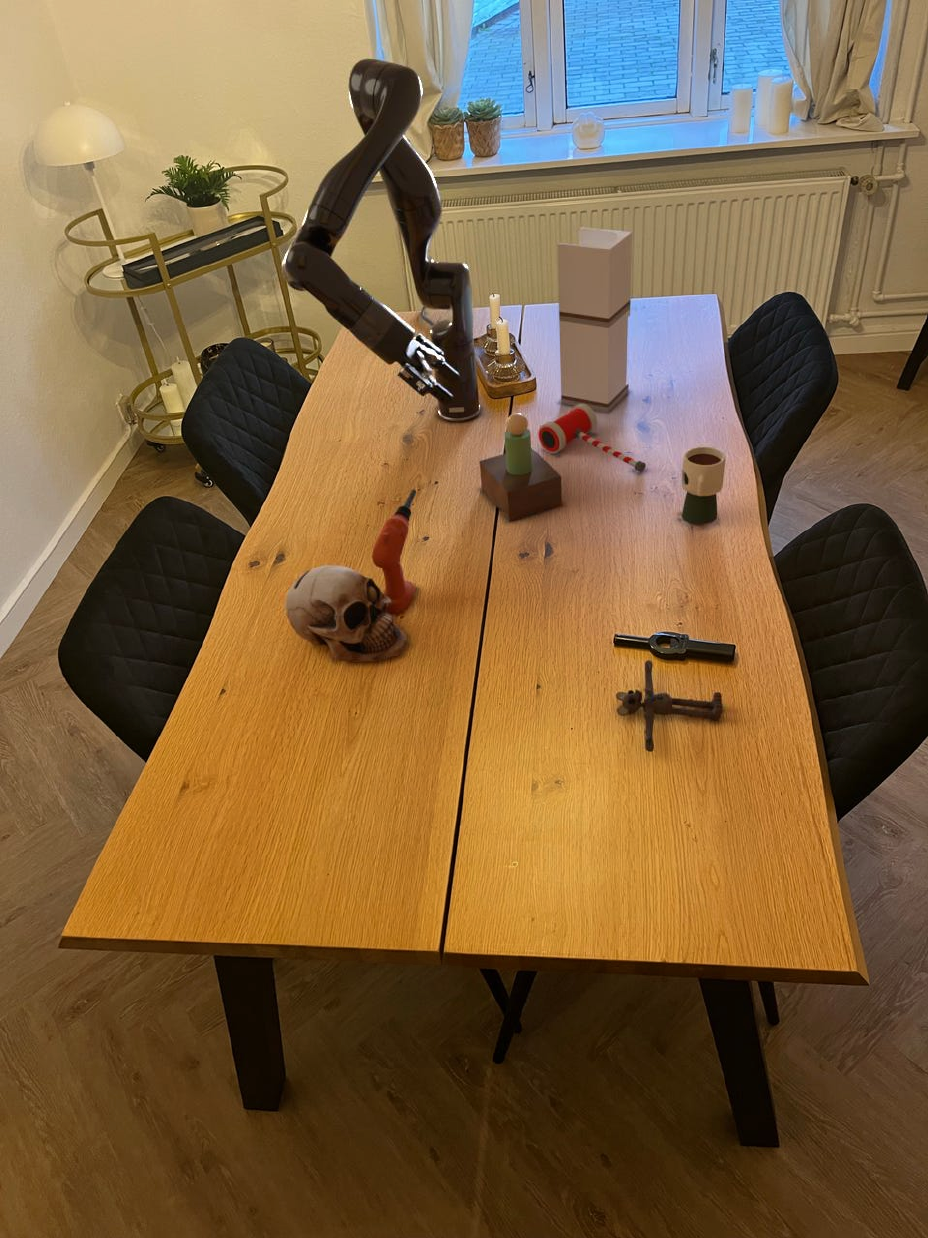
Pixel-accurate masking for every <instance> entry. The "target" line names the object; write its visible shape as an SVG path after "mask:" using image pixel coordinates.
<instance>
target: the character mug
mask: <svg viewBox="0 0 928 1238" xmlns="http://www.w3.org/2000/svg"><path fill="white" fill-rule="evenodd" d="M682 458H683V459H682V469H681V470H682V471H681V487H682V488H683V490H684V491H686V494H685V498H684V502H683V507H682V513H681V518H682V519H683V521H684V522H686V523H688V524H689V525H707V524H712V523H714V522H715V521H716V520H717V519H718V498H717V494H719V493H720V492H721V491H722V490H723V486H724V479H725V470H726V469H725V468H726V460H727V459H726V458H727V457H726V454H725V452H724V451H722V450H721V449H719V448H717V447H715V446H708V445H701V446H700V445H699V446H694V447H691V448H689V449H686V451H685V452H684V453H683V457H682Z"/></svg>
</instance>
